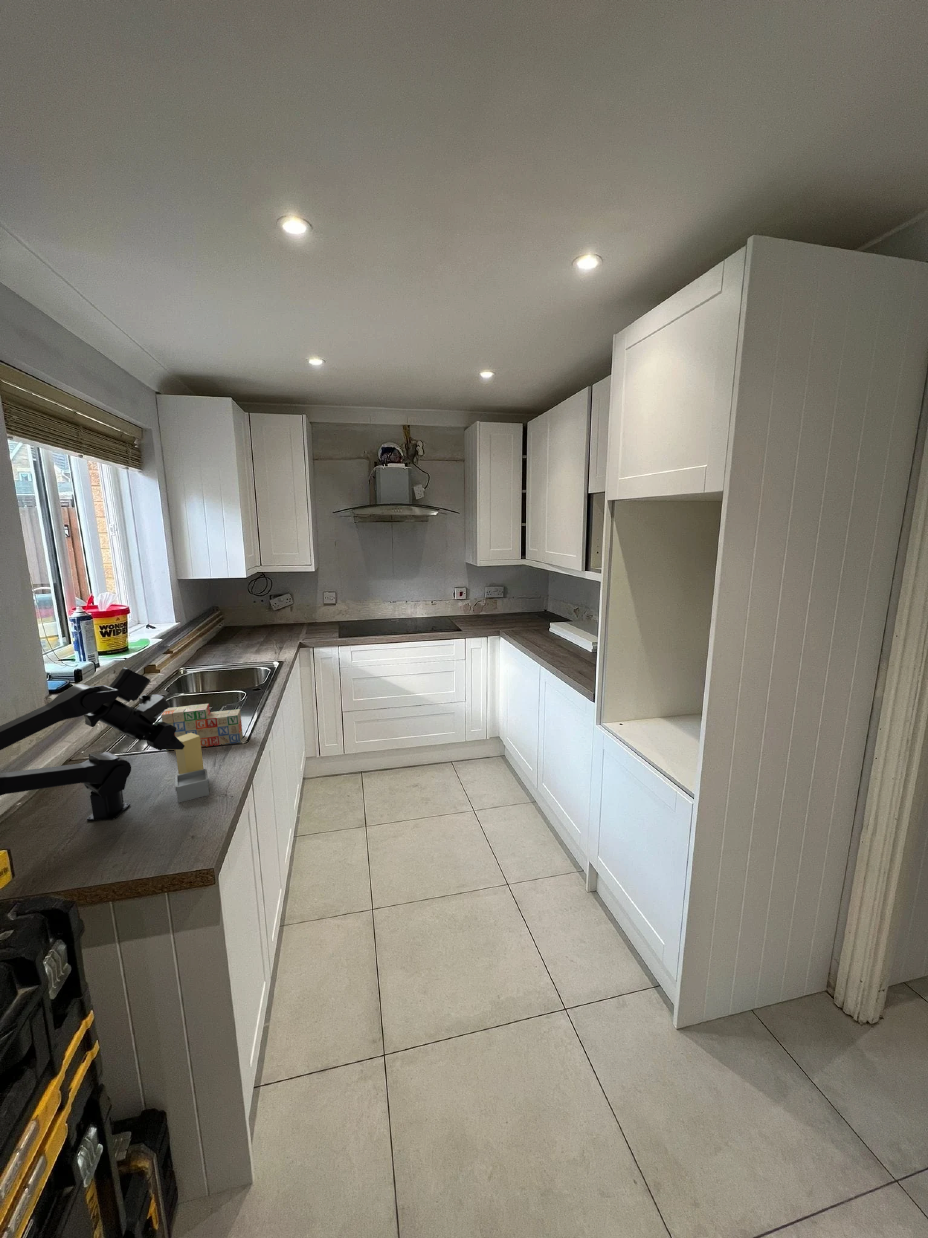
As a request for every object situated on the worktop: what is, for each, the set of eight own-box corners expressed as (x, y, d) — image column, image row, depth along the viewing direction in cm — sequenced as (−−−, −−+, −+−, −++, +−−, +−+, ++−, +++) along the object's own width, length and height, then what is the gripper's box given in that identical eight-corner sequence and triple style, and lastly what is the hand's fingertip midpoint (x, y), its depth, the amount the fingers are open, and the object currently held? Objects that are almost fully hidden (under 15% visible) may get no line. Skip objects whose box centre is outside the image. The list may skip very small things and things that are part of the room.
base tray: (177, 803, 124) (175, 787, 123) (176, 790, 130) (175, 775, 129) (210, 795, 127) (208, 779, 127) (208, 783, 134) (206, 768, 133)
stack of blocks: (243, 735, 165) (239, 700, 163) (240, 743, 159) (236, 706, 157) (171, 744, 160) (166, 707, 158) (165, 752, 154) (160, 714, 152)
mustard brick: (188, 784, 133) (183, 741, 131) (179, 779, 136) (174, 738, 134) (204, 777, 137) (199, 735, 135) (195, 773, 139) (190, 732, 137)
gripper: (163, 694, 119) (212, 723, 130) (126, 682, 129) (175, 710, 140) (131, 736, 114) (185, 763, 125) (96, 721, 124) (148, 746, 135)
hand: (174, 743), depth 132 cm, fingers open, 9 cm apart
